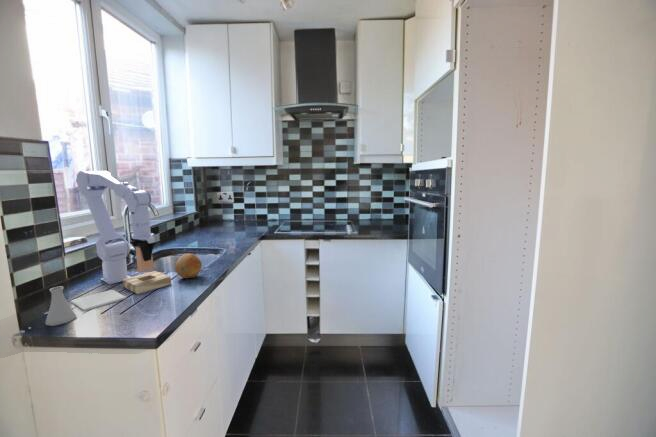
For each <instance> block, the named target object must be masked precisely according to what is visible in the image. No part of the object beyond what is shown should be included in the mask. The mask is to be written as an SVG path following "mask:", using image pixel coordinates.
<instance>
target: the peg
mask: <svg viewBox="0 0 656 437" xmlns="http://www.w3.org/2000/svg"><path fill="white" fill-rule="evenodd" d="M135 249H136V251H135V256H136V267H137V271H140V272H142V273H144V272H147V271H151V270H154V269H155V268H154V259H153V255H152V256H151V260H148V261H144V259H143V256H142V252H141V249H140V247H139V246H136V247H135ZM135 249H134V250H135Z"/></svg>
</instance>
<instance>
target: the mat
mask: <svg viewBox="0 0 656 437" xmlns="http://www.w3.org/2000/svg"><path fill="white" fill-rule="evenodd" d="M126 299H127V296H125V295H124V294H121V293H120V292H118V291H116V290H114V289H108V290H105V291H100V292H98V293H93V294H90V295H86V296H82V297H79V298H75V299H72V300H71V301H70V302H71V303H72V304H74V306H76V307H77V308H79V309H80V310H81V311H83V312H86V311H89V310H93V309H96V308H99V307H102V306H106V305H109V304H112V303H116V302H119V301H123V300H126Z"/></svg>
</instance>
